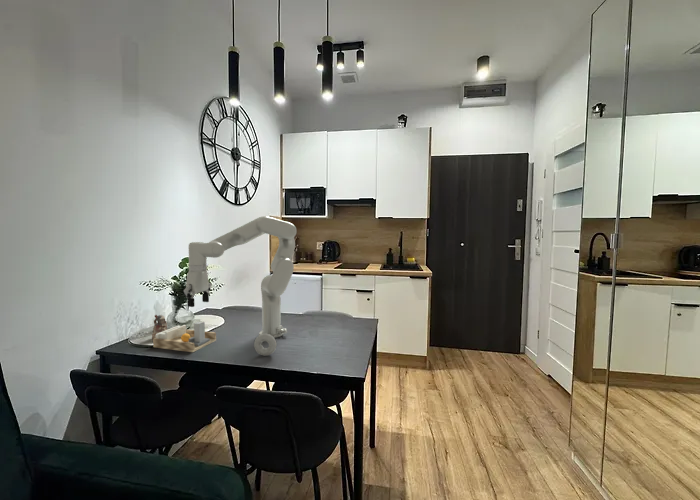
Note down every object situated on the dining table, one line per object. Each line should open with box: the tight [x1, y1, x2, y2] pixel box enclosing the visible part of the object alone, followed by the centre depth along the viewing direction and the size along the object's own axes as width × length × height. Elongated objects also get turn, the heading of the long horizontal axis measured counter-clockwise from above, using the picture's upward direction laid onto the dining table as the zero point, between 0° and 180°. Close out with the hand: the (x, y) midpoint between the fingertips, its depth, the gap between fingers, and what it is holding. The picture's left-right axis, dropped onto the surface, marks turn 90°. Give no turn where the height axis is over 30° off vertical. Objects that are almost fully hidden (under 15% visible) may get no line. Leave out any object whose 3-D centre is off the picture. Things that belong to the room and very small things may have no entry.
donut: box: [253, 334, 277, 357], centre depth 143 cm, size 10×4×10 cm, turn 87°
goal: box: [156, 324, 187, 340], centre depth 158 cm, size 6×14×6 cm, turn 165°
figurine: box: [151, 314, 168, 340], centre depth 163 cm, size 7×7×12 cm
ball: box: [181, 333, 190, 342], centre depth 156 cm, size 4×4×4 cm
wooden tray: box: [152, 328, 217, 353], centre depth 156 cm, size 22×16×4 cm
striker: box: [189, 320, 210, 346], centre depth 154 cm, size 5×8×10 cm, turn 165°
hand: (198, 304), depth 153 cm, fingers open, 9 cm apart
